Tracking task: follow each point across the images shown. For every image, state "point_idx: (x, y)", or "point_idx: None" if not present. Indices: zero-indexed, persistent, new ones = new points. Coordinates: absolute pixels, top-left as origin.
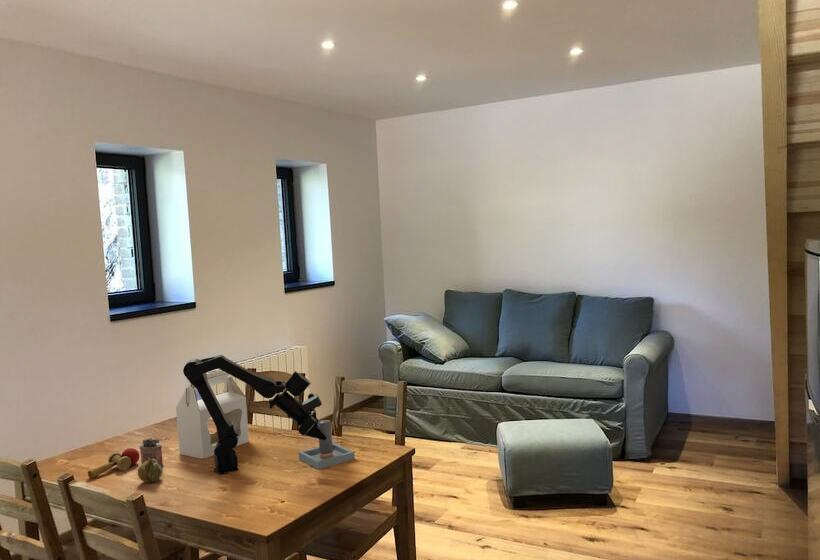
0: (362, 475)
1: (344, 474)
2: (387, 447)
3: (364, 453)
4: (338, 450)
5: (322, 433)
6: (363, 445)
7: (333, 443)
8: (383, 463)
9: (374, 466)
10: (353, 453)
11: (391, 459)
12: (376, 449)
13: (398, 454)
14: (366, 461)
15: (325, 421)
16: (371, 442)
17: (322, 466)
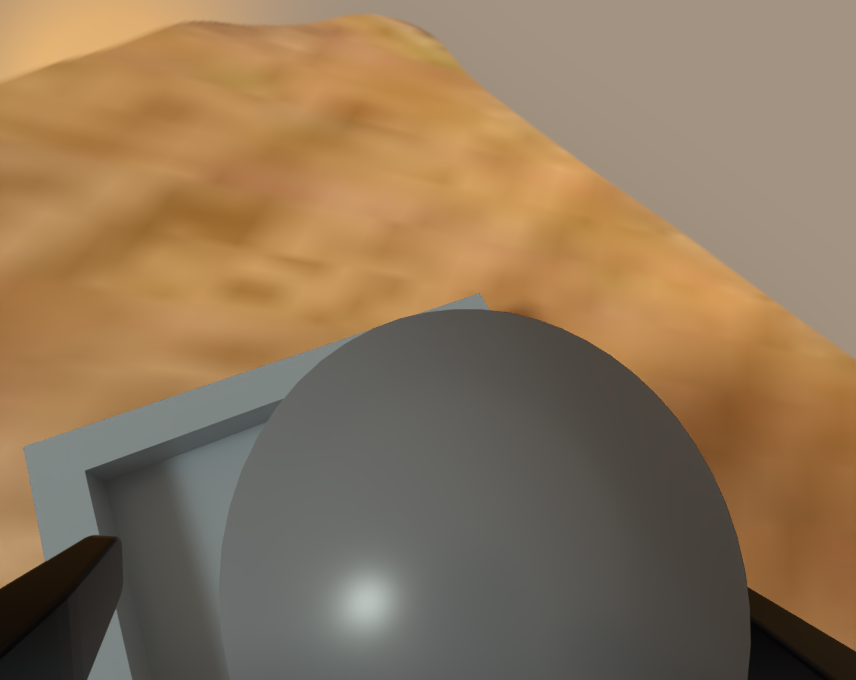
0: (808, 340)
1: (794, 456)
2: (277, 81)
3: (344, 235)
4: (244, 428)
5: (852, 650)
6: (111, 195)
7: (49, 455)
8: (601, 184)
9: (648, 240)
10: (480, 308)
11: (537, 130)
12: (285, 145)
13: (455, 77)
14: (538, 262)
15: (455, 490)
16: (67, 128)
17: None
